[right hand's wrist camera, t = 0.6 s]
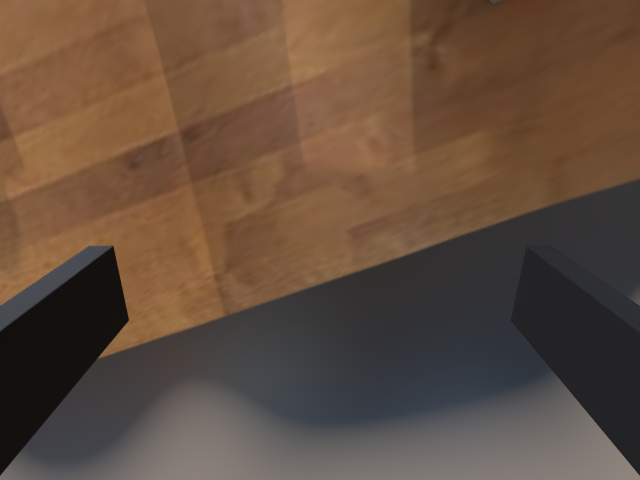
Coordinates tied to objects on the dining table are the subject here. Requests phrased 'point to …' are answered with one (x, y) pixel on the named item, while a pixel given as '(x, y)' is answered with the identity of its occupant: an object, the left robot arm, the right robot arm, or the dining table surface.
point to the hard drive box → (494, 1)
